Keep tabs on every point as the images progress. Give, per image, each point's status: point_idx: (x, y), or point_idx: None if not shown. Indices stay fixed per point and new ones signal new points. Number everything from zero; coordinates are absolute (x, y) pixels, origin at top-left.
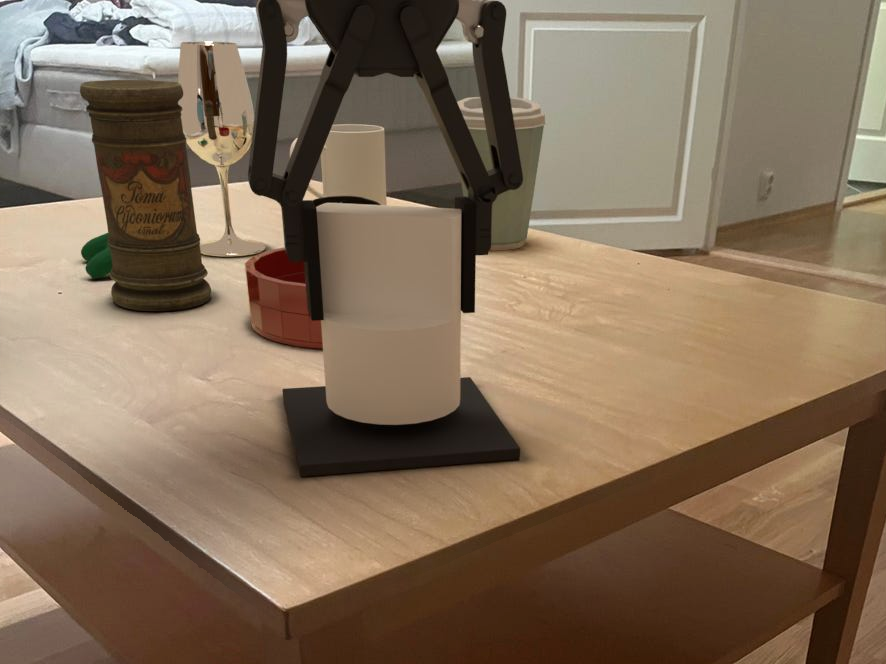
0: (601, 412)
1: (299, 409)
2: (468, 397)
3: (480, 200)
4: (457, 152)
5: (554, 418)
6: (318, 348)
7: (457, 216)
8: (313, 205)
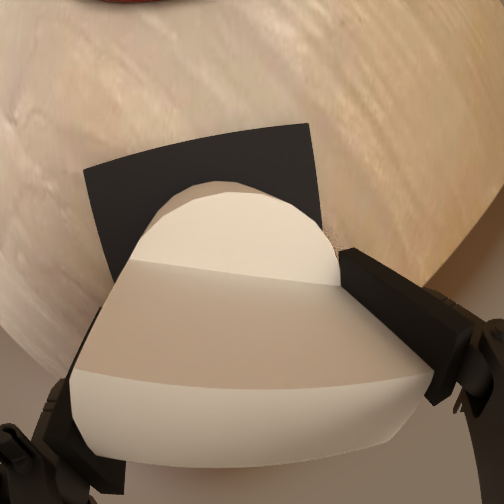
0: (405, 206)
1: (111, 237)
2: (301, 192)
3: (453, 410)
4: (479, 474)
5: (370, 220)
6: (124, 2)
7: (402, 424)
8: (102, 478)
